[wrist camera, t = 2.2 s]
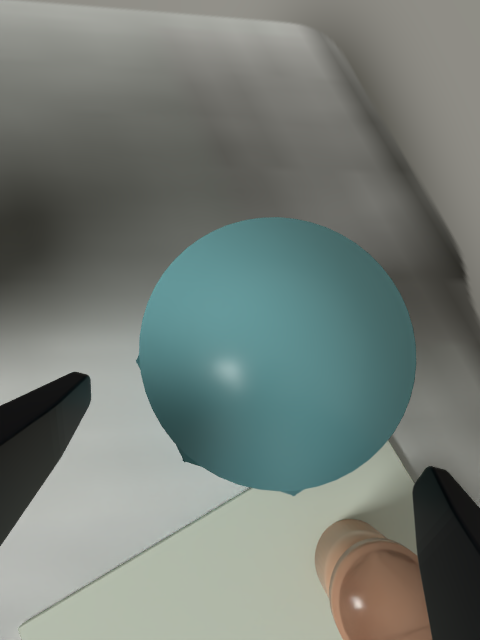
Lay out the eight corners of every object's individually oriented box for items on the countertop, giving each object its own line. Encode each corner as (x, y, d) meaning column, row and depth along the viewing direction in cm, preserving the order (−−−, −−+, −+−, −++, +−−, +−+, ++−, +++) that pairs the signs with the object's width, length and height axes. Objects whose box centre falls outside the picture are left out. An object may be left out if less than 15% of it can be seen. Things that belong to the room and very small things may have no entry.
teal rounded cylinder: (228, 472, 18) (219, 555, 7) (170, 356, 20) (93, 287, 9) (339, 406, 19) (473, 398, 8) (276, 300, 20) (323, 177, 10)
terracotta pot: (340, 630, 16) (373, 699, 12) (294, 542, 17) (312, 580, 13) (412, 580, 17) (466, 631, 13) (365, 497, 18) (402, 521, 14)
